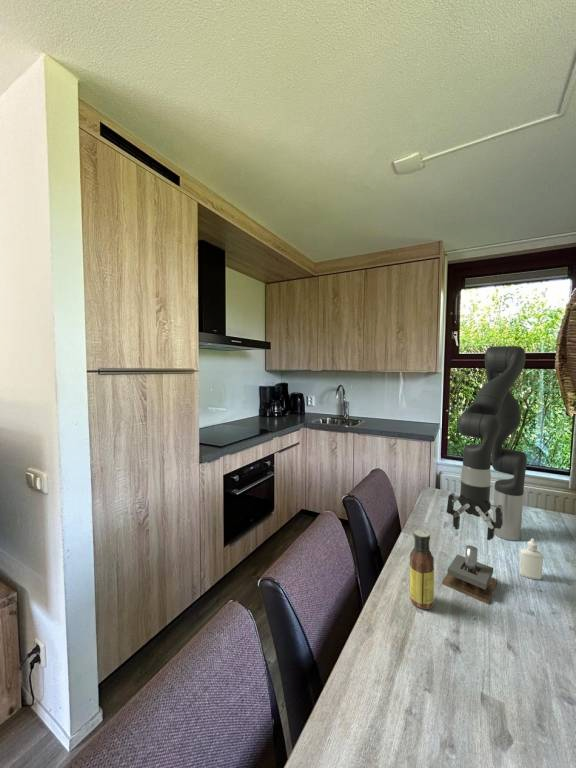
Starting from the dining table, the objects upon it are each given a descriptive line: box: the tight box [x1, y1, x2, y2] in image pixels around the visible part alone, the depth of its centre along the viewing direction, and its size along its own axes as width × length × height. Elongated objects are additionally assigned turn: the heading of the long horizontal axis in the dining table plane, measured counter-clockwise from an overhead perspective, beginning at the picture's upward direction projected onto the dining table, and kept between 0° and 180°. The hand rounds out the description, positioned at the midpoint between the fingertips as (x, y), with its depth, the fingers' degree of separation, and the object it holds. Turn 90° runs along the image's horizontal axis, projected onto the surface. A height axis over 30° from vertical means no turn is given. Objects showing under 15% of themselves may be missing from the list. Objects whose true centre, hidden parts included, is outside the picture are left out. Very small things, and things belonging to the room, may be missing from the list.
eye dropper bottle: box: [518, 537, 544, 581], centre depth 102 cm, size 4×6×12 cm
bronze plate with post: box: [441, 545, 498, 605], centre depth 98 cm, size 12×12×11 cm
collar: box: [446, 554, 494, 590], centre depth 98 cm, size 10×10×2 cm
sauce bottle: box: [409, 529, 435, 610], centre depth 90 cm, size 7×6×20 cm
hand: (472, 533), depth 98 cm, fingers open, 8 cm apart
